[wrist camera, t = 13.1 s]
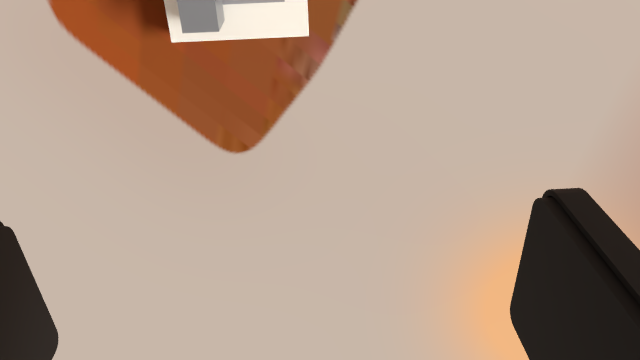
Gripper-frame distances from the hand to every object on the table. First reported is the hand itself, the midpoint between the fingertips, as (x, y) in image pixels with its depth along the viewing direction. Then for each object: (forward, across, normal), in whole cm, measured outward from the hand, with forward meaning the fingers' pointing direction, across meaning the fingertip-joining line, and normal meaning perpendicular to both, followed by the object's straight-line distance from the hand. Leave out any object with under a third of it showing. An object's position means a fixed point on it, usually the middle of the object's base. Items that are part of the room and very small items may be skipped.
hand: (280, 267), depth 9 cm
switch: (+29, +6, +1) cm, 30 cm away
